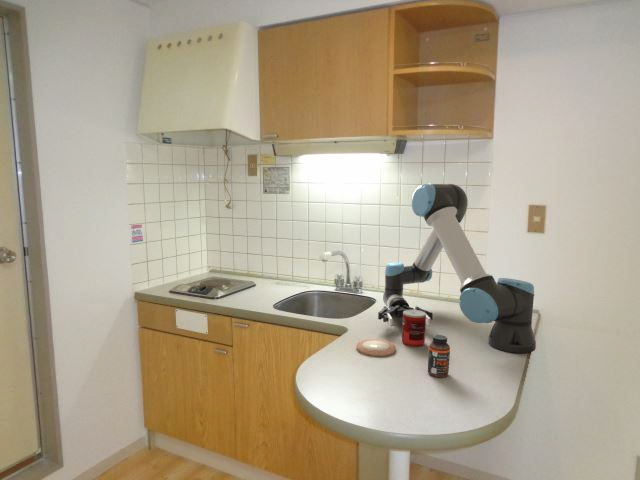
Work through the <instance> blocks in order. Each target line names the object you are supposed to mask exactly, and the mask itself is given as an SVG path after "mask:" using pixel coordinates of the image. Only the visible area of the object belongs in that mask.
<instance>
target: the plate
mask: <svg viewBox="0 0 640 480" xmlns="http://www.w3.org/2000/svg"><path fill="white" fill-rule="evenodd" d="M355 347H356V348H355V349H356V350H358V351H359V352H358V351H357V352H358V353H360V354H363V355H365V356H371V357H388V356H392V355H393V354H394V353H396V349H397V348H396V344H394V343H393V342H391V341H389V340H384V339H377V338H370V339H369V338H368V339H362V340H358V342H357V343H356V346H355Z"/></svg>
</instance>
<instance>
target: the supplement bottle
mask: <svg viewBox="0 0 640 480" xmlns="http://www.w3.org/2000/svg"><path fill="white" fill-rule="evenodd" d="M450 355H451V347H450V344H449V343H448V337H447V336H445V335H442V334H435V335H433V337H432V341H431V342H430V343H429V345H428V356H427V357H428V360H427V362H428V363H427V374H428V375H430V376H432V377H433V378H434V377H435V378H445V377H447V376H448V375H449V370H450Z"/></svg>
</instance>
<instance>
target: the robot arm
mask: <svg viewBox="0 0 640 480" xmlns="http://www.w3.org/2000/svg"><path fill="white" fill-rule="evenodd" d="M467 196H468V195H467V194H466V192H465V190H464V189H463V188H462V187H461V186H459V185H458V184H452V183H447V184H446V183H438V184H437V183H434V184H433V183H427V184H424V183H423V184H421V185H418V186H417V188H416V189H415V190H414V191H413V193H412V198H411V208H412V211H413V213H414V214H415V216H418V217H423V220H424V221H425V222H426V224H427V226H430V227H432V228H431V230H430V231H429V233H428V235H427V237H426V239H425V240H424V243H423V245H422V247H421V248H420V250H419V252H418V254H417V256H416V258H415V260H414V261H413V263H412V265H408V266H404V263H403V262H399V261H397V262H396V261H393V262H388V263H386V265H385V270H384V279H385V281H384V283H385V284H384V292H383V295H382V299H383V300H382V301H383V304H384V305H385V306H383V308H382V309H381V310H379V312H378V314H377V315H378V316H377V317H378V318H377V320H382V321H383V323H387V324H388V325H389V326H390V327H392V326H393V318H398V319H399V318H400V319H401V318H402V319H403V311H405V310H420V311H423V312H425V313H426V326H428V327H431V321H432V320H433V317H434V316H433V315H434V314H433V312H431V311H428V310H426V309H423V308H421V307H419V306H415V307H411V306H410V305H409V303H408V302H407V300H406V298H404V296H403V294H404V285H409V284H420V283H425V282H429V281H430V280H431V279H432V277H433V269H432V268H433V266H434V264H435V262H436V260H437V259H438V257H439V256H440V253H441V251H442V250H444V251H445V253H446V256H447V257H448V260H449V261H450V263H451V265H452V267H453V269H454V271H455V273H456V276H457V277H458V279H459V281H460V284H461V286H460V289H459V291H460V295H459V299H458V300H459V307H460V308H459V309H460V311H461V312H462V314H463V316H464V317H465V318H466V319H467V320H469V321H471V322H472V323H475V324H491V323H493V322H494V323H493V326H492V328H491V329H490V330H491V331H490V332H489V335H488V345H489V346H491V347H492V348H495V349H496V350H500V351H503V352H507V353H514V354H529V353H532V352H534V351H536V346H537V342H536V338H535V334H534V331H533V327H532V325H533V312H534V311H533V310H534V300H535V298H534V297H535V286H534V284H532V283H531V282H529V281H524V280H520V279H516V278H515V279H514V278H508V277H506V278H505V277H500V278H498V279H497V281H496V280H495V278H494V276H493V275H492V274H489V273H487V272H486V271H485V269H484V268H483V265H482V263H481V262H480V260H479V257H478V256H477V255H476V252H475V251H474V249H473V246H472V245H471V243H470V241H469V240H468V237H467V235H466V233H465V231H464V230H463V228H462V226H461V224H460V223H461V222H462V221H463V219H464V217H465V215H466V213H467V209H468V204H469V202H468V201H469V200H468V197H467Z"/></svg>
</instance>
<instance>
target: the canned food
mask: <svg viewBox="0 0 640 480" xmlns="http://www.w3.org/2000/svg"><path fill="white" fill-rule="evenodd" d="M401 326H402V330H401V331H402V333H401V337H402V338H401V341H402V342H401V343H403V345H405V346H408V347H412V348H414V347H415V348H418V347H419V348H420V347H423V346H424V345H425V341H426V326H427V324H426V313H425V312H423V311H420V310H405V311H403V317H402V325H401Z"/></svg>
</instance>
